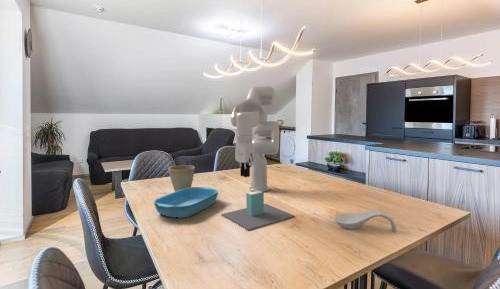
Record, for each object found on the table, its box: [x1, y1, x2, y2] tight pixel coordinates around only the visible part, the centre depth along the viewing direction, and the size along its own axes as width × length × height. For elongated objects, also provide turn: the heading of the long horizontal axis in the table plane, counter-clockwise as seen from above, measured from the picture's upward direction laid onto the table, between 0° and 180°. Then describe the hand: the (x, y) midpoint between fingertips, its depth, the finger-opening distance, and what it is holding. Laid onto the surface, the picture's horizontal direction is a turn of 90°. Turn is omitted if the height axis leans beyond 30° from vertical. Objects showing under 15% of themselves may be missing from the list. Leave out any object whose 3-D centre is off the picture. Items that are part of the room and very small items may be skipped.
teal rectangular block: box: [245, 191, 265, 216], centre depth 134 cm, size 4×7×10 cm, turn 125°
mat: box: [221, 203, 296, 232], centre depth 133 cm, size 22×26×1 cm
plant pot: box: [168, 164, 196, 192], centre depth 170 cm, size 15×15×16 cm
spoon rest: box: [334, 210, 398, 233], centre depth 118 cm, size 24×12×7 cm, turn 75°
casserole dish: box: [153, 186, 219, 219], centre depth 145 cm, size 37×22×7 cm, turn 156°
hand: (245, 176), depth 139 cm, fingers closed
